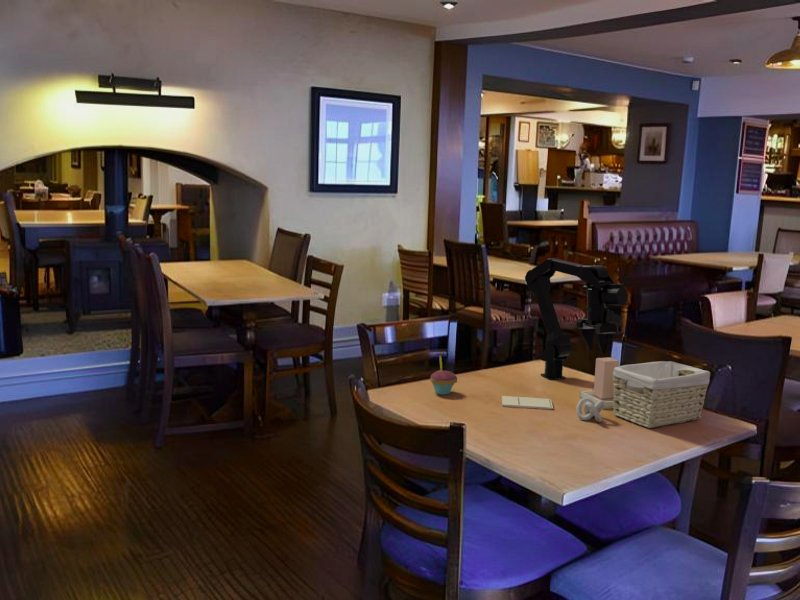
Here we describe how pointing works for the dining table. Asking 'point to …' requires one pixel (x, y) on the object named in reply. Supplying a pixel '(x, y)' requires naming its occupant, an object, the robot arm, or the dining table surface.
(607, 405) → the bill dish
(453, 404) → the dining table surface
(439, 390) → the cupcake
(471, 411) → the dining table surface
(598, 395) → the pinkish tall block
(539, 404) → the ticket book
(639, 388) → the storage basket
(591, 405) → the knot
